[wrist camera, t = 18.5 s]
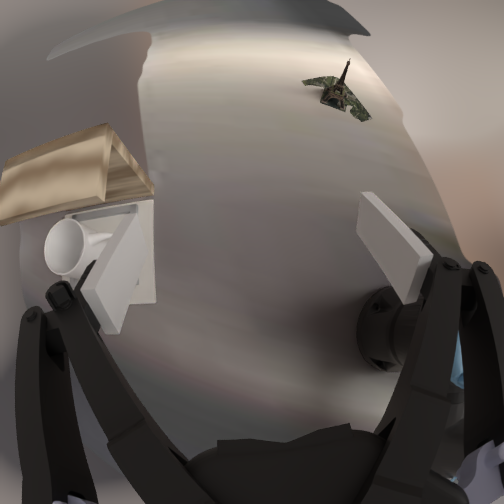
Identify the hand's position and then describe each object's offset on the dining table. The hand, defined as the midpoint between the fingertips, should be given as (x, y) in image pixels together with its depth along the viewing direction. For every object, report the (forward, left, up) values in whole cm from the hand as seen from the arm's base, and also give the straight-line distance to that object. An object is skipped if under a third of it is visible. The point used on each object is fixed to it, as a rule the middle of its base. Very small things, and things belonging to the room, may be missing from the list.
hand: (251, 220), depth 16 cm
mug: (+6, +26, -29) cm, 39 cm away
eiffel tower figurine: (+36, -22, -30) cm, 52 cm away
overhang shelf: (+13, +26, -30) cm, 41 cm away
